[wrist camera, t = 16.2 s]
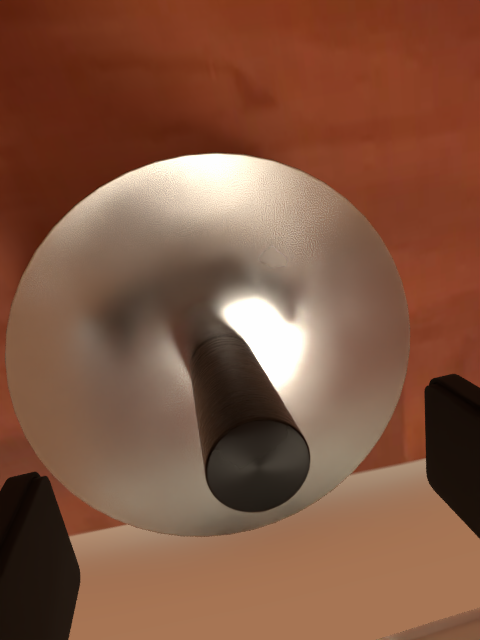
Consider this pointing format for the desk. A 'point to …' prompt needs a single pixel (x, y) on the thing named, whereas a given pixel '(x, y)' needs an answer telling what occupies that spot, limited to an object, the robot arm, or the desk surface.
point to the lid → (207, 344)
